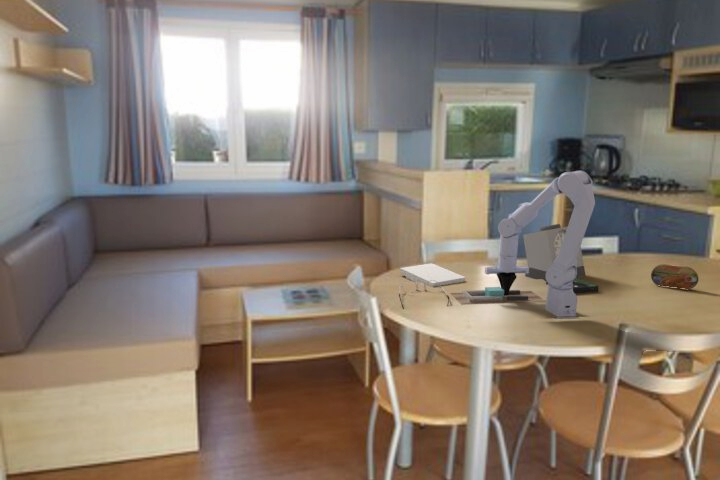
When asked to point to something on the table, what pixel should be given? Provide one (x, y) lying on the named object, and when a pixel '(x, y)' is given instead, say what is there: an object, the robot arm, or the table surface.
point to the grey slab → (472, 298)
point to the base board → (531, 298)
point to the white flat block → (431, 274)
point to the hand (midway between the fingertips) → (504, 294)
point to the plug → (494, 291)
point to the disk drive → (583, 286)
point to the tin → (674, 276)
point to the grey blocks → (516, 296)
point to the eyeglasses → (424, 289)
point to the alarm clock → (547, 251)
